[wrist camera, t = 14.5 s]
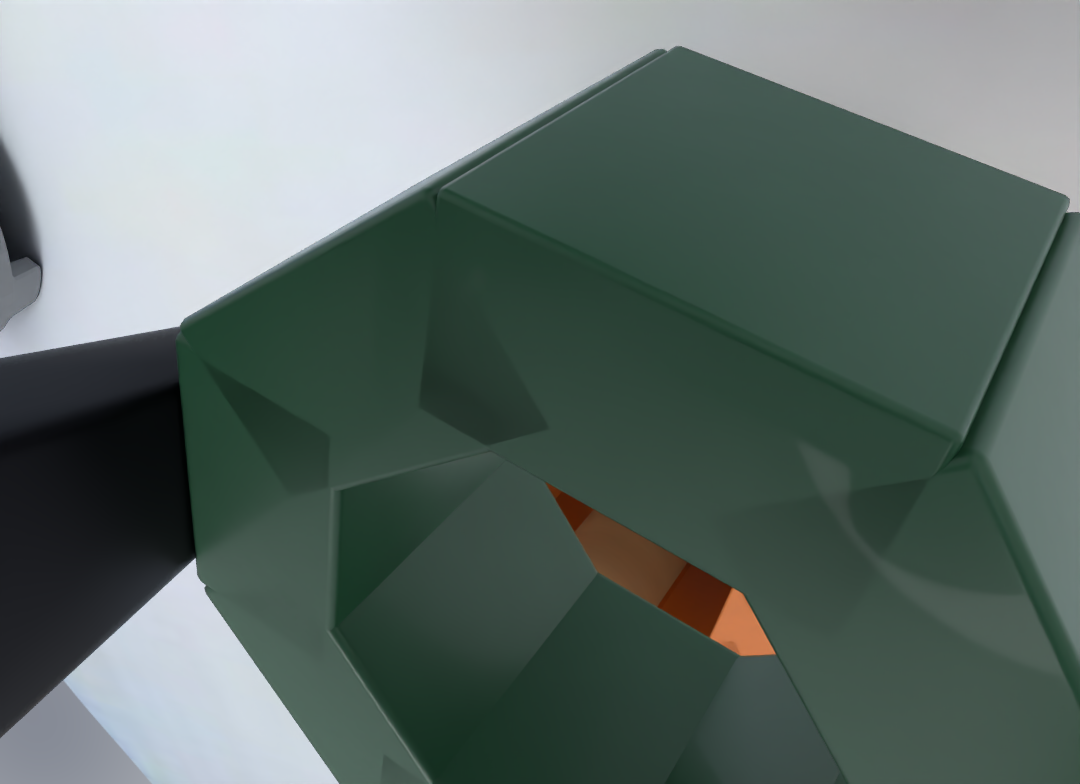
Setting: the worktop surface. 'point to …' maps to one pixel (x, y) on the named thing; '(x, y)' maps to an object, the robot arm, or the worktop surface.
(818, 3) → the worktop surface
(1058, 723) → the green ring
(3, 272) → the blender
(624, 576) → the ring stand
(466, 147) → the worktop surface
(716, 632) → the orange ring
